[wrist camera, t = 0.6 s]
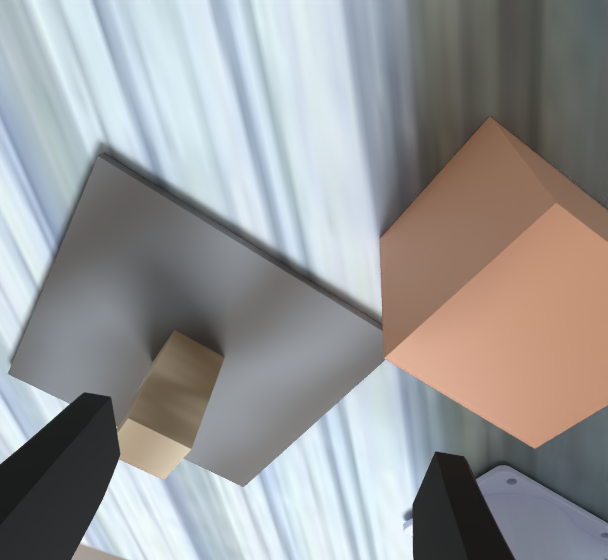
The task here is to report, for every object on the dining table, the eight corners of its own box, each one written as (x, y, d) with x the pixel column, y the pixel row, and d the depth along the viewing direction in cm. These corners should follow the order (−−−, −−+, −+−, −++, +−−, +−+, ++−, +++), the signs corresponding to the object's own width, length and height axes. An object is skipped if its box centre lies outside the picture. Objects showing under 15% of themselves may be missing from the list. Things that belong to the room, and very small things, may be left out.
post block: (402, 337, 21) (411, 441, 16) (245, 480, 28) (221, 579, 23) (103, 152, 18) (12, 218, 13) (12, 368, 25) (-66, 458, 20)
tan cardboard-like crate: (608, 211, 17) (725, 334, 11) (488, 312, 20) (534, 449, 14) (489, 116, 15) (556, 202, 10) (379, 238, 18) (383, 358, 13)
